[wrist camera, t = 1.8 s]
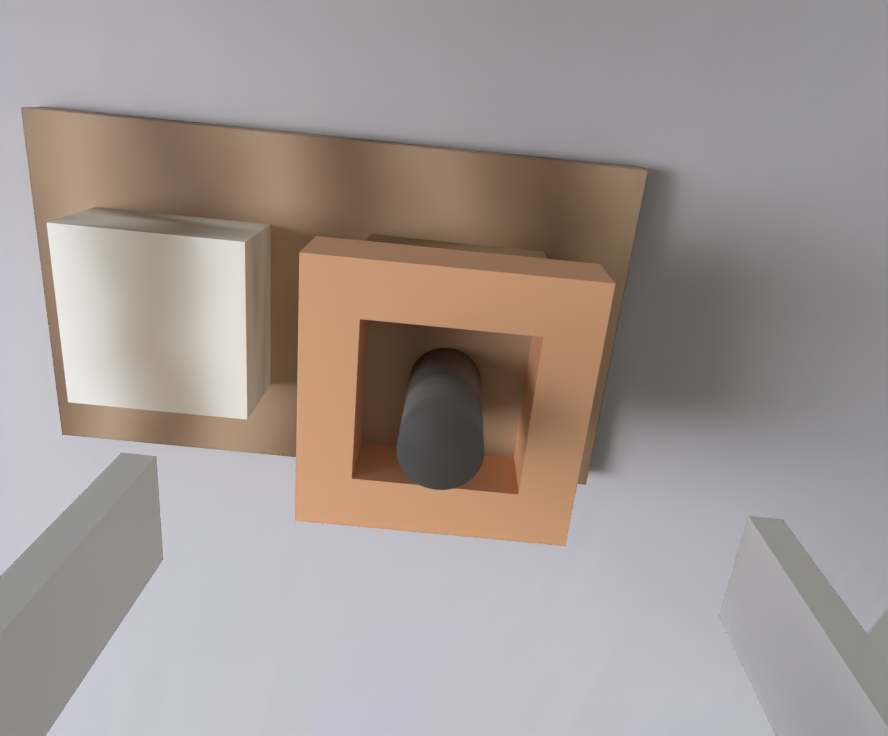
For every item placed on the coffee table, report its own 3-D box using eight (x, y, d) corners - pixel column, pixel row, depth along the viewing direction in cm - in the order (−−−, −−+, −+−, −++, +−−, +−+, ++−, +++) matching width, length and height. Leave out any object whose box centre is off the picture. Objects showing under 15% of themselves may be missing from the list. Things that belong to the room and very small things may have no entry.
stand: (75, 422, 33) (-131, 599, 21) (39, 106, 27) (-260, 117, 16) (581, 471, 33) (643, 671, 22) (640, 167, 28) (762, 219, 16)
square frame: (310, 482, 25) (295, 520, 23) (316, 235, 22) (299, 252, 20) (556, 505, 25) (565, 545, 23) (600, 264, 22) (615, 283, 20)
